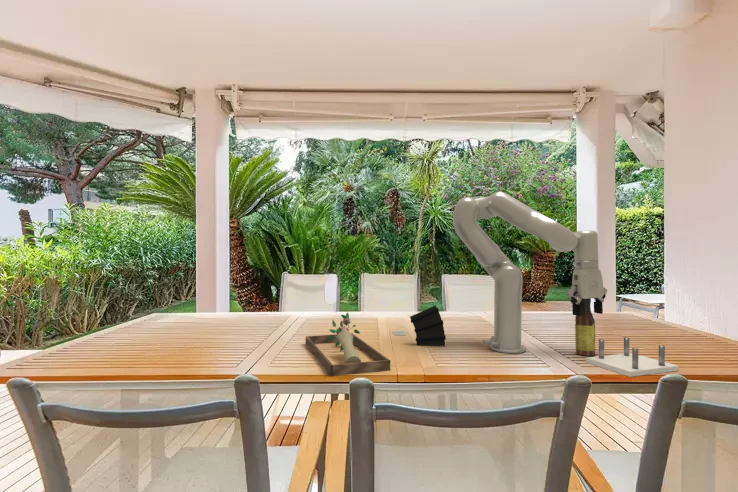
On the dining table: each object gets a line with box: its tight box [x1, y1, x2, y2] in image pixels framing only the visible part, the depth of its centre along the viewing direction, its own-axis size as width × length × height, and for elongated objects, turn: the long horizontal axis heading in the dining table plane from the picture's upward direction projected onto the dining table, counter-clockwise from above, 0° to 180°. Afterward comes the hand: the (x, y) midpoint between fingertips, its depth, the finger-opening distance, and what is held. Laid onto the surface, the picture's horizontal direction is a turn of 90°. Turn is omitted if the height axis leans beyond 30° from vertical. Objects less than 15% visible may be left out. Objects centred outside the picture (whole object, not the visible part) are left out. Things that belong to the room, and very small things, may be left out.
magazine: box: [409, 304, 447, 347], centre depth 160 cm, size 4×13×15 cm, turn 83°
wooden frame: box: [305, 332, 391, 377], centre depth 144 cm, size 19×41×3 cm, turn 19°
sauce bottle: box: [574, 298, 596, 357], centre depth 148 cm, size 7×6×20 cm
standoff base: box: [585, 336, 679, 378], centre depth 134 cm, size 20×16×8 cm
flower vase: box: [327, 311, 362, 364], centre depth 144 cm, size 12×12×35 cm
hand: (587, 314), depth 148 cm, fingers open, 9 cm apart
